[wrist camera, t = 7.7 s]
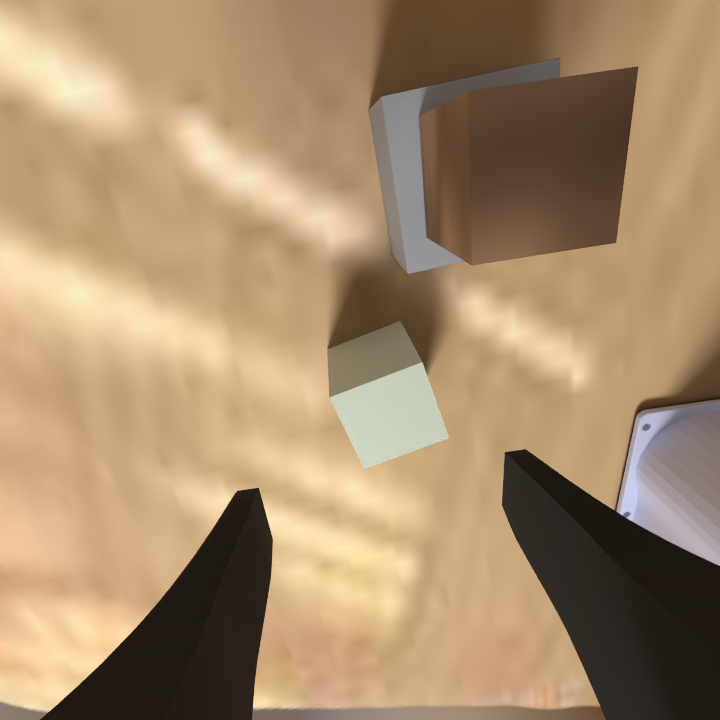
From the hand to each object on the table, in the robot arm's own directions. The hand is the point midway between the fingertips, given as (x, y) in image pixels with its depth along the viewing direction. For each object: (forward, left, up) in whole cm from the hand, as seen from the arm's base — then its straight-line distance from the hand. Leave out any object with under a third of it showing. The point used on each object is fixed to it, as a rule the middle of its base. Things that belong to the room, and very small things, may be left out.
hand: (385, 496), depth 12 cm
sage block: (-1, -1, -10) cm, 11 cm away
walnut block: (+8, -5, -7) cm, 12 cm away
